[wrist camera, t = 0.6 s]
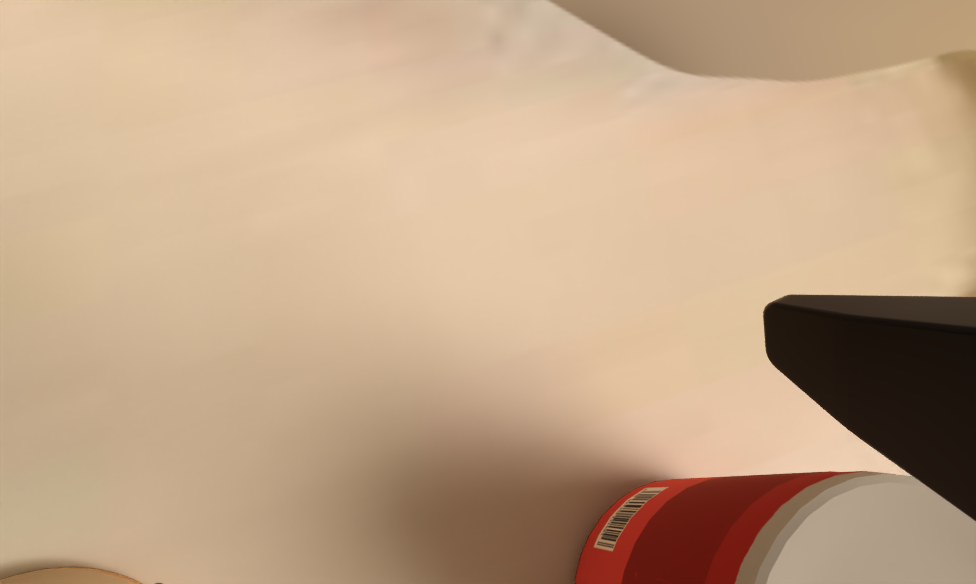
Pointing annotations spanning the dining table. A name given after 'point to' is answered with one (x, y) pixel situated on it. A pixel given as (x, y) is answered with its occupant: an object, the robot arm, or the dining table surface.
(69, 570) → the coaster
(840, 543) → the canned food
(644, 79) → the dining table surface
